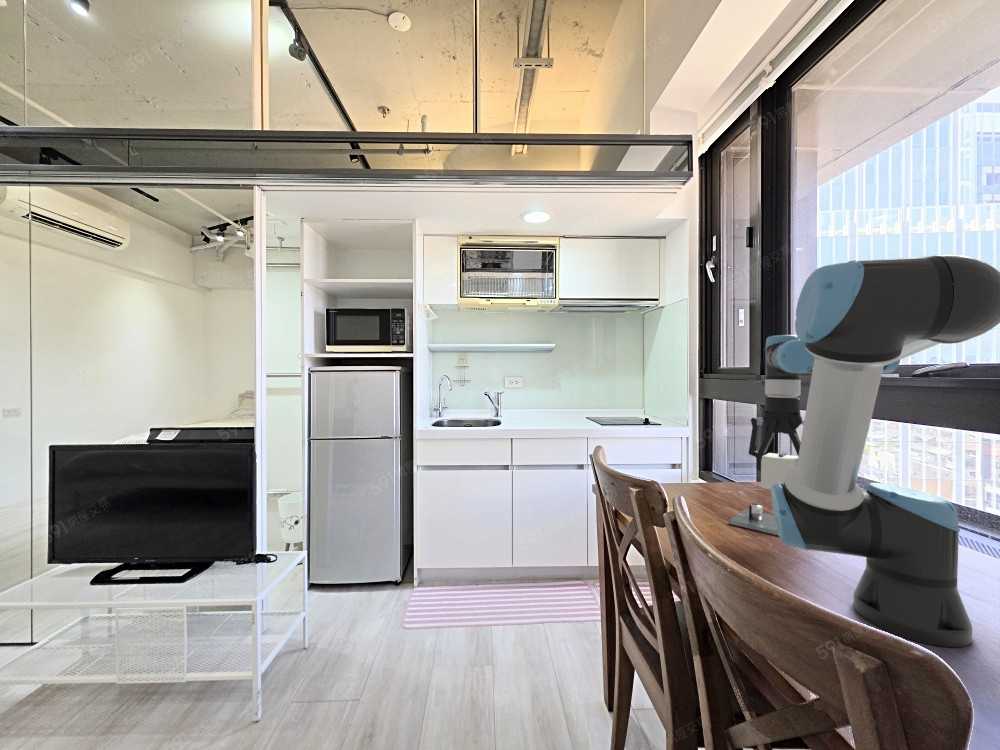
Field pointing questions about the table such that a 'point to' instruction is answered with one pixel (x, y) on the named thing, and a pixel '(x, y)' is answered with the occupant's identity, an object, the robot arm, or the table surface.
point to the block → (776, 468)
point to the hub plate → (755, 519)
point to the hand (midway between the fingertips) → (781, 486)
